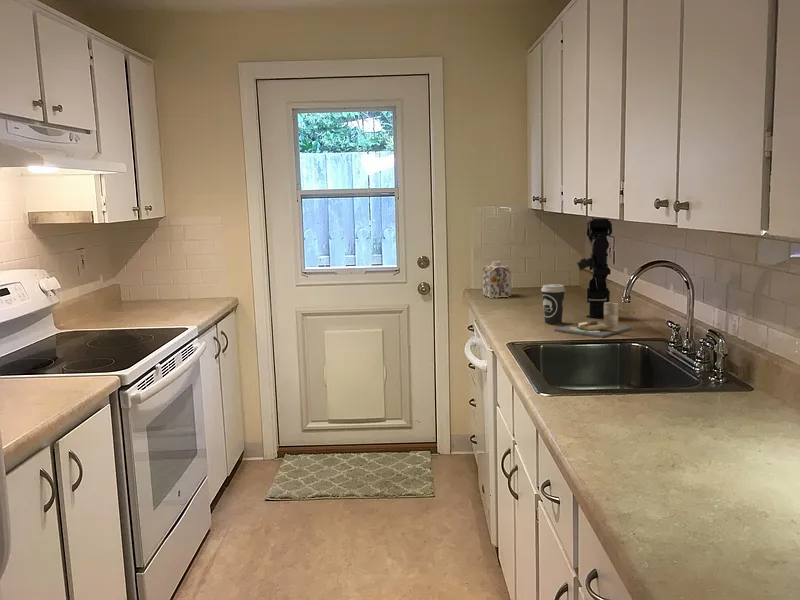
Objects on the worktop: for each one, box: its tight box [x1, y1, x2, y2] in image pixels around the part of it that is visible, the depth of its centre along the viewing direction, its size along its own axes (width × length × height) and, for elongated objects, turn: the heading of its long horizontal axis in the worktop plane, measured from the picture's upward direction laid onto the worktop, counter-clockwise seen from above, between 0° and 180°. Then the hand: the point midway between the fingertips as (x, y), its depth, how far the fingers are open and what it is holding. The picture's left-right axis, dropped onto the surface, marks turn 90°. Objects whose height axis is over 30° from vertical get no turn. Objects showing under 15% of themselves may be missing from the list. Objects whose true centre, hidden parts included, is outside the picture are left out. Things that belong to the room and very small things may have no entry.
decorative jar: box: [482, 260, 512, 297], centre depth 351 cm, size 12×12×18 cm
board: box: [554, 322, 632, 338], centre depth 257 cm, size 20×20×1 cm
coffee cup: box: [540, 283, 567, 325], centre depth 274 cm, size 10×10×15 cm
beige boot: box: [578, 301, 619, 331], centre depth 252 cm, size 15×13×10 cm
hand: (599, 290), depth 268 cm, fingers closed
